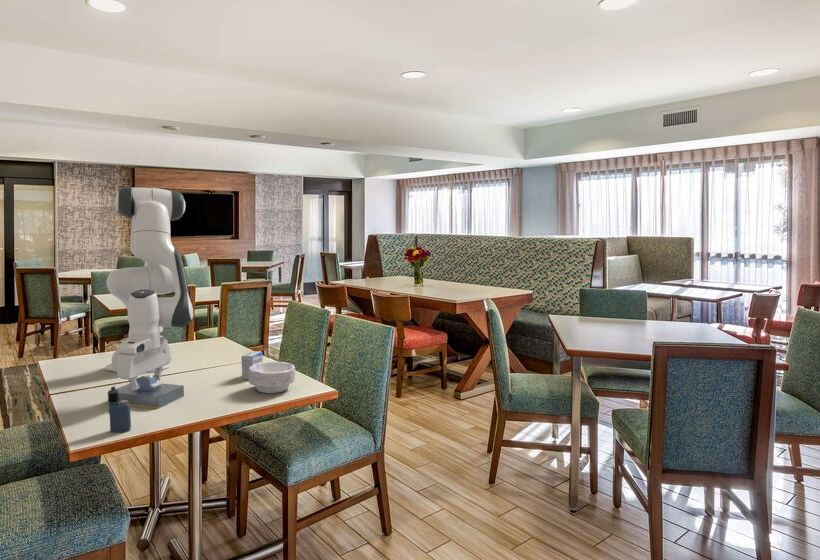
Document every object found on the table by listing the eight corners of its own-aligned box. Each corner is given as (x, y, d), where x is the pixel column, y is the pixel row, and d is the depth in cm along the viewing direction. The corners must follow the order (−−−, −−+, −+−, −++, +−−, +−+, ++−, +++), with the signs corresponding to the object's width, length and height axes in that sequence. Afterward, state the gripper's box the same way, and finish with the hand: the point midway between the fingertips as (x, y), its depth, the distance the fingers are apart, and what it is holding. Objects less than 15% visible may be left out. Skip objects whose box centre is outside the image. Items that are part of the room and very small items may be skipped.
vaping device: (112, 429, 146) (110, 385, 145) (132, 428, 147) (130, 385, 146) (108, 432, 144) (106, 388, 142) (128, 432, 144) (126, 388, 143)
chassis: (106, 403, 166) (106, 392, 166) (135, 391, 179) (135, 381, 178) (157, 408, 163) (157, 397, 162) (183, 396, 175) (183, 385, 174)
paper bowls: (303, 390, 182) (303, 367, 181) (260, 399, 172) (259, 375, 172) (283, 380, 194) (283, 358, 193) (241, 388, 184) (241, 365, 183)
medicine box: (253, 380, 194) (252, 356, 193) (241, 379, 194) (241, 355, 194) (263, 374, 201) (262, 351, 200) (252, 373, 202) (251, 350, 201)
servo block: (133, 400, 170) (132, 375, 170) (140, 397, 173) (139, 373, 172) (153, 402, 169) (152, 377, 168) (160, 399, 172) (159, 375, 171)
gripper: (158, 335, 180) (159, 375, 181) (111, 348, 160) (113, 394, 161) (175, 336, 178) (176, 377, 180) (130, 350, 159) (132, 395, 160)
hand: (146, 385), depth 170 cm, fingers open, 8 cm apart
